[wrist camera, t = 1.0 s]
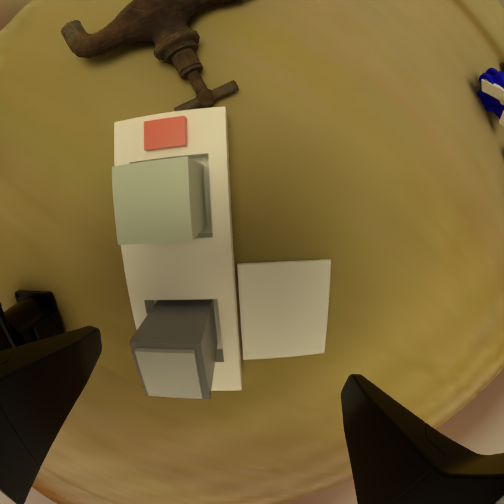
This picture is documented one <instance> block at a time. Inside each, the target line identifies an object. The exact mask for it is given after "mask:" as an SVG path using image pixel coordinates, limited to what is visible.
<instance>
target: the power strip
mask: <svg viewBox="0 0 504 504" xmlns="http://www.w3.org/2000/svg"><path fill="white" fill-rule="evenodd" d="M187 156H188V157H190V158H192V159H193V160H195V161H197V162H199V163H201V164H203V165H204V179H205V199H206V216H207V226H206V227H205V228H204V229H203V230H202V231H201V232H200V233H199V234H198V235H197V237H196V238H195V239H194V240H193V241H180V242H163V243H146V244H129V245H121V250H122V257H123V263H124V270H125V276H126V282H127V287H128V293H129V298H130V303H131V308H132V312H133V317H134V321H135V326H136V330H138V328H139V327H140V325H141V324H142V322H143V321H144V319H145V318H146V316H147V315H148V313H149V312H150V311H151V309H152V308H153V306H154V305H155V303H156V302H157V300H194V299H213V303H214V313H215V322H216V332H217V340H218V345H217V352H216V360H215V367H214V374H213V381H212V389H211V391H227V390H242V369H241V356H240V343H239V329H238V314H237V299H236V284H235V267H234V250H233V232H232V212H231V191H230V168H229V142H228V117H227V112H226V107H212V108H201V109H191V110H183V111H175V112H168V113H161V114H155V115H149V116H143V117H138V118H133V119H128V120H123V121H118V122H115V126H114V163H115V166H119V165H125V164H131V163H138V162H145V161H152V160H160V159H168V158H177V157H187Z"/></svg>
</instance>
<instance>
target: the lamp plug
mask: <svg viewBox="0 0 504 504" xmlns="http://www.w3.org/2000/svg"><path fill="white" fill-rule="evenodd" d="M112 186H113V202H114V214H115V224H116V233H117V241H118V245H129V244H146V243H163V242H180V241H193V240H194V239H195V238H196V237H197V235H198V234H199V233H200V232H201V231H202V230H203V229H204V228H205V227H206V226H207V216H206V199H205V179H204V165H203V164H201V163H199V162H197V161H195V160H193V159H192V158H190V157H188V156H187V157H177V158H168V159H160V160H152V161H145V162H138V163H131V164H125V165H119V166H113V167H112Z"/></svg>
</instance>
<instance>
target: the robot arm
mask: <svg viewBox="0 0 504 504" xmlns="http://www.w3.org/2000/svg"><path fill="white" fill-rule="evenodd" d="M15 297H16V301H17V304H15V305H14V306H12V307H11V308H9V309H8V310H6V311H5V312H3V310H2V307H1V306H2V305H1V303H0V491H1V492H2V493H4V494H5V495H6V496H7V497H9V498H10V499H11V500H12V501H14V502H15V503H16V504H24V503H25V500H26V498H27V496H28V493H29V491H30V489H31V487H32V484H33V482H34V480H35V478H36V476H37V474H38V472H39V470H40V466H41V465H42V463H43V461H44V459H45V457H46V455H47V453H48V451H49V449H50V447H51V445H52V443H53V442H54V440H55V438H56V436H57V434H58V432H59V430H60V429H61V427H62V425H63V423H64V421H65V420H66V418H67V416H68V414H69V412H70V411H71V409H72V407H73V406H74V404H75V402H76V400H77V399H78V397H79V395H80V394H81V392H82V390H83V389H84V387H85V385H86V384H87V381H88V379H89V377H90V375H91V373H92V371H93V369H94V367H95V364H96V362H97V360H98V358H99V356H100V354H101V351H102V343H101V335H100V330H99V329H98V328H95V327H92V326H86V327H83V328H80V329H76V330H73V331H70V332H66V333H64V331H63V328H62V325H61V322H60V319H59V315H58V312H57V308H56V305H55V301H54V297H53V295H52V293H51V292H40V291H19V290H18V291H16V292H15ZM49 297H50V298H49ZM341 403H342V413H343V424H344V432H345V437H346V442H347V447H348V452H349V457H350V462H351V468H352V473H353V479H354V484H355V489H356V496H357V502H358V504H504V453H501V454H494V455H480V454H477V453H475V452H473V451H471V450H469V449H467V448H465V447H464V446H462V445H460V444H458V443H456V442H455V441H453V440H451V439H449V438H448V437H446V436H445V435H443V434H441V433H440V432H438V431H437V430H435V429H434V428H432V427H431V426H430V425H428V424H427V423H425V422H424V421H423V420H421V419H420V418H419V417H417V416H416V415H414V414H413V413H412V412H410V411H409V410H408V409H406V408H405V407H403V406H402V405H401V404H399V403H398V402H397V401H395V400H394V399H393V398H391V397H390V396H389V395H387V394H386V393H385V392H383V391H382V390H381V389H379V388H378V387H377V386H375V385H374V384H373V383H371V382H370V381H369V380H367V379H366V378H365V377H364V376H362V375H360V374H351V375H350V376H349V377H348V379H347V381H346V383H345V385H344V387H343V389H342V392H341Z"/></svg>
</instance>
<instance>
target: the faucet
mask: <svg viewBox="0 0 504 504" xmlns="http://www.w3.org/2000/svg"><path fill="white" fill-rule="evenodd" d="M229 1H232V0H133V1H132V2H131V3H129V4H128V5H127V6H126V7H125V8H124V9H123V10H122V11H121V12H120V13H119V14H118V16H117V17H116V18H115V19H114V20H113V21H112V22H111V23H110V24H108V25H107V26H106V27H105V28H103V29H102V30H100V31H99V32H97V33H95V34H92V35H91V34H88V33H87V32H86V31H85V30H84V28H83V27H82V25H81V23H80V21H78V20H74V21H71V22H69V23H67V24H66V25H65V26H64V27H63V28H62V30H61V33H62V35H63V37H64V39H65V41H66V43H67V45H68V46H69V48H70V49H71V51H72V52H73V53H74V54H76V55H77V56H78V57H84V58H90V57H95V56H99V55H103V54H105V53H107V52H110V51H112V50H114V49H116V48H118V47H121V46H124V45H127V44H132V43H139V42H144V41H151V42H154V43H155V49H154V55H155V57H156V58H158V59H159V60H165V61H166V62H167V63H173V64H174V66H175V67H176V69H177V71H178V73H179V75H180V77H181V78H182V79H187V78H189V80H190V82H191V84H192V86H193V87H194V89H195V91H196V93H197V96H196V98H195V99H192V100H190V101H188V102H186V103H184V104H182V105H180V106H178V107H176V108H174V110H175V111H183V110H191V109H197V108H199V107H201V106H202V107H208V106H210V105H212V104H213V103H214V101H215V100H216V99H218V98H220V97H223V96H225V95H228V94H230V93H233V92H235V91H238V90H239V89H238V86H237V84H236V82H235V81H234V80H233V81H231V82H229V83H226V84H224V85H222V86H220V87H218V88H216V89H214V90H212V91H211V90H209V89H207V87H206V85H205V83H204V82H203V80H202V78H201V76H200V74H199V73H200V72H201V71H202V70H203V67H202V65H201V63H200V61H199V59H198V58H197V56H196V54H195V51H196V50H197V43H198V42H199V38H200V36H199V34H198V33H197V31H195V30H192V29H191V28H190V27H188V25H187V24H188V21H189V19H190V18H191V17H192V16H193V15H194V14H195V13H196V12H197V11H198V10H200V9H202V8H204V7H205V6H208V5H211V4H214V3H225V2H229ZM234 1H239V0H234Z"/></svg>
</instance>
